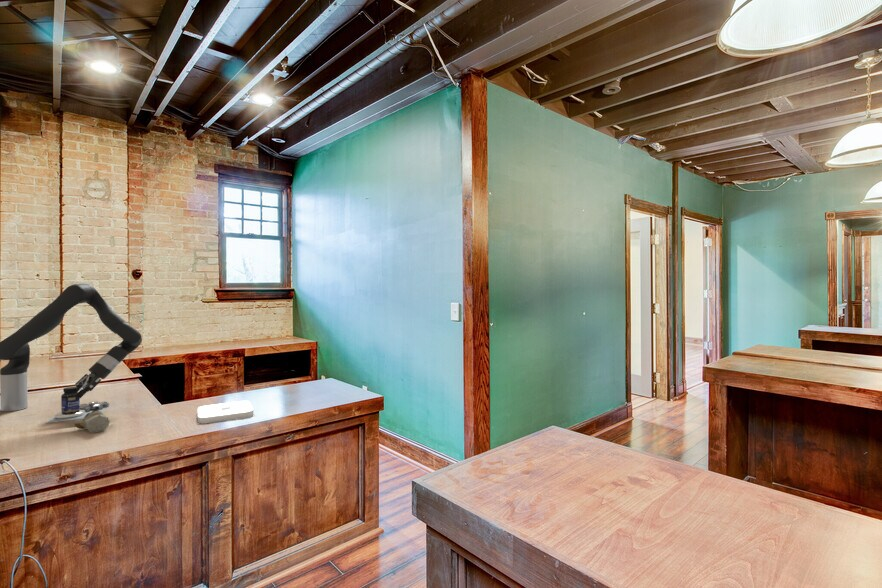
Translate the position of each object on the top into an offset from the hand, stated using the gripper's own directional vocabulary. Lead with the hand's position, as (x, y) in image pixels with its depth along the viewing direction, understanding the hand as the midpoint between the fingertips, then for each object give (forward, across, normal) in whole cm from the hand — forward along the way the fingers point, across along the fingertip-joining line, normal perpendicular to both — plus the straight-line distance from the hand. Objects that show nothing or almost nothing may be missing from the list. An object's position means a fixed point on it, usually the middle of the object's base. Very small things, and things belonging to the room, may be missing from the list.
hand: (73, 396), depth 190 cm
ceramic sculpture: (+8, +26, +7) cm, 28 cm away
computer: (-21, +49, +37) cm, 65 cm away
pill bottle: (+6, 0, +4) cm, 7 cm away
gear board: (+5, -2, +9) cm, 10 cm away
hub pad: (+7, 0, +5) cm, 8 cm away
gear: (0, -7, +12) cm, 14 cm away
